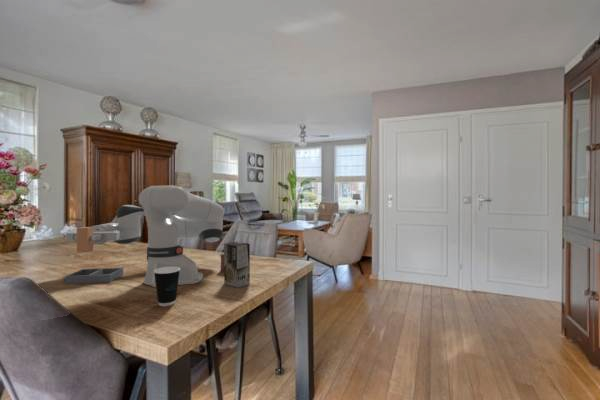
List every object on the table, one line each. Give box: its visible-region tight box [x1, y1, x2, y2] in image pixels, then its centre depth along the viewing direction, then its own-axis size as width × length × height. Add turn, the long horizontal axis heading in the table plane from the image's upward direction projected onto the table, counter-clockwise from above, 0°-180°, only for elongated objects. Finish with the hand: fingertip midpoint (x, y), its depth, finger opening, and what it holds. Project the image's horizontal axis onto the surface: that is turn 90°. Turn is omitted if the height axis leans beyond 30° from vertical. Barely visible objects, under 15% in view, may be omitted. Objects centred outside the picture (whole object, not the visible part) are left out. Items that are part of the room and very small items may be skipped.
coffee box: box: [223, 241, 251, 289], centre depth 114 cm, size 9×6×16 cm
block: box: [76, 226, 94, 254], centre depth 119 cm, size 4×4×10 cm
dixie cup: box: [153, 267, 180, 307], centre depth 93 cm, size 8×8×11 cm
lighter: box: [220, 248, 224, 272], centre depth 134 cm, size 8×3×10 cm, turn 71°
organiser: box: [64, 267, 124, 285], centre depth 120 cm, size 16×12×3 cm
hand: (83, 238), depth 119 cm, fingers closed on block, 4 cm apart
